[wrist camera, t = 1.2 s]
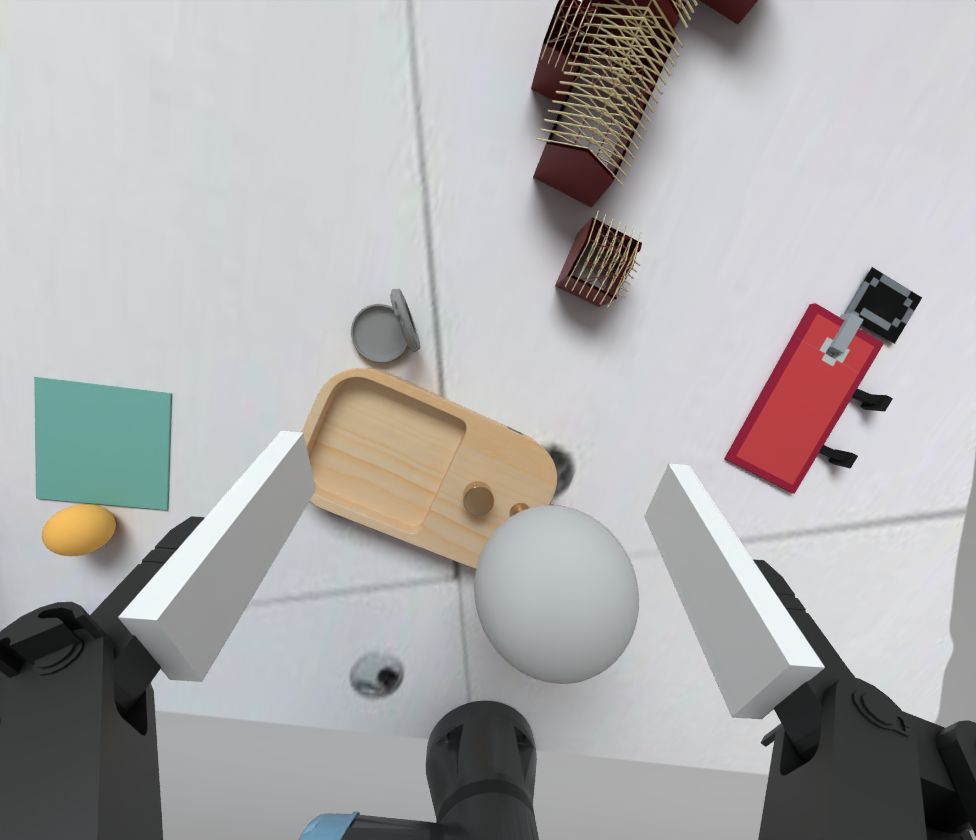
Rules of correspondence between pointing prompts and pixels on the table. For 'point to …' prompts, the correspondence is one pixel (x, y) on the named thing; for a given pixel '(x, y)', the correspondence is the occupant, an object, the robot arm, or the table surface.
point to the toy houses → (634, 51)
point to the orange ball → (78, 530)
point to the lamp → (477, 518)
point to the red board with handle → (820, 383)
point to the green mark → (102, 444)
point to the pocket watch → (385, 330)
